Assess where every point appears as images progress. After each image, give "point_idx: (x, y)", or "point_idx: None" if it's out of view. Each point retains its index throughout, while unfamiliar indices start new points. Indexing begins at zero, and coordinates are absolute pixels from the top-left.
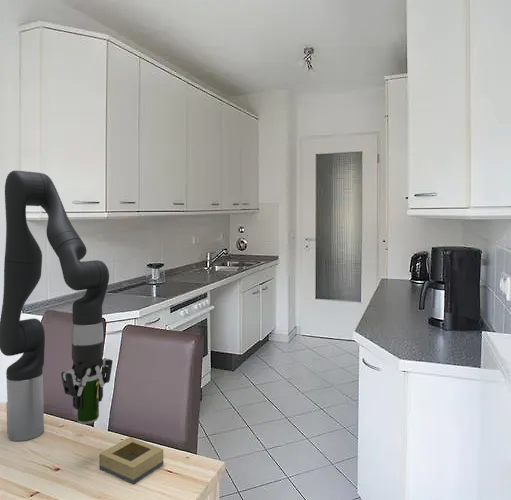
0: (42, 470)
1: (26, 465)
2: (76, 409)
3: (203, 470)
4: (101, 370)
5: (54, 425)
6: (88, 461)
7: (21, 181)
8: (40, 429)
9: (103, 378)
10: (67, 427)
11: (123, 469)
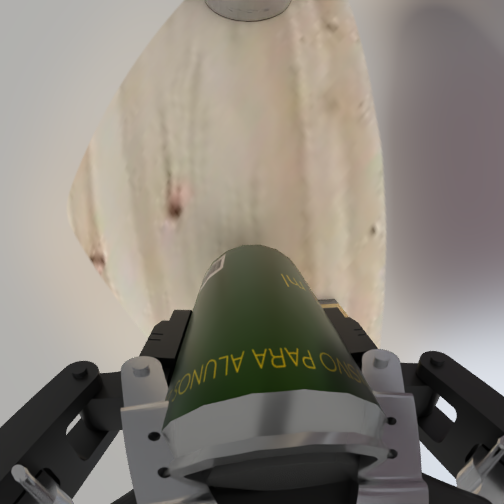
0: (150, 183)
1: (143, 127)
2: (208, 276)
3: None
4: (471, 409)
5: (319, 11)
6: None
7: None
8: (265, 11)
9: (418, 404)
10: (334, 44)
11: None
